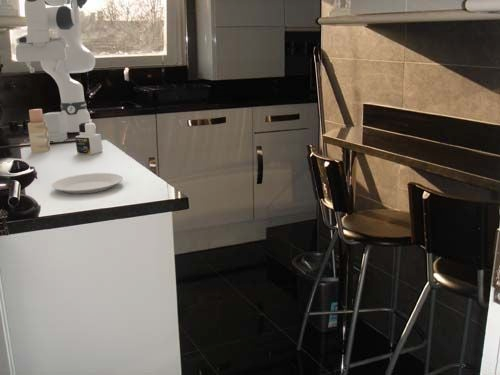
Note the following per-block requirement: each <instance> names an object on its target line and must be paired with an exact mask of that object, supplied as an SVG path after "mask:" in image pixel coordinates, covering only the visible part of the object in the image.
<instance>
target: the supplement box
mask: <svg viewBox="0 0 500 375" xmlns="http://www.w3.org/2000/svg"><path fill="white" fill-rule="evenodd" d="M42 114H43V121H47V129H48V136H49V143H51V142H50V141H53V142H52V143H62V142H65V141H66V139H67V140H68V132H66V125H65V117H64V112H62V111H51V112H47V113H42ZM64 140H65V141H64Z"/></svg>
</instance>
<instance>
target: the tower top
mask: <svg viewBox="0 0 500 375" xmlns="http://www.w3.org/2000/svg"><path fill="white" fill-rule="evenodd" d="M27 130H28V134H29V133H44V132H46V131H47V130H48V129H47V121H43V122H39V123H31V122H30V121H29V122H28V123H27Z"/></svg>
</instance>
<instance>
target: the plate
mask: <svg viewBox="0 0 500 375" xmlns="http://www.w3.org/2000/svg"><path fill="white" fill-rule="evenodd" d="M123 179H124V177H123V176H122V175H120V174H117V173H109V172H108V173H107V172H105V173H104V172H99V173H98V172H97V173H95V172H94V173H85V174H78V175H73V176H68V177H64V178H60V179H58V180H56V181H54V182H53V183H52V184H51V187H52V188H53V189H54V190H57V191H62V192H65V193H67V194H75V195H83V194H94V193H98V192H102V191H105V190H108V189H111V188H112V187H113V186H115V185H117V184H119V183H121V182H122V181H123Z"/></svg>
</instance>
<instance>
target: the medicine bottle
mask: <svg viewBox="0 0 500 375" xmlns="http://www.w3.org/2000/svg"><path fill="white" fill-rule="evenodd" d="M95 127H96V123H94V122H93V121H92V122H86V123H81V124H79V131H80V132H79V135H76V136H75V137H74V138H75V145H76V147H75V148H76V153H77V155H83V156H84V155H85V156H91V155H95V154H99V153H102V152H103V141H102V135H101V133H96V129H95Z"/></svg>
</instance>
